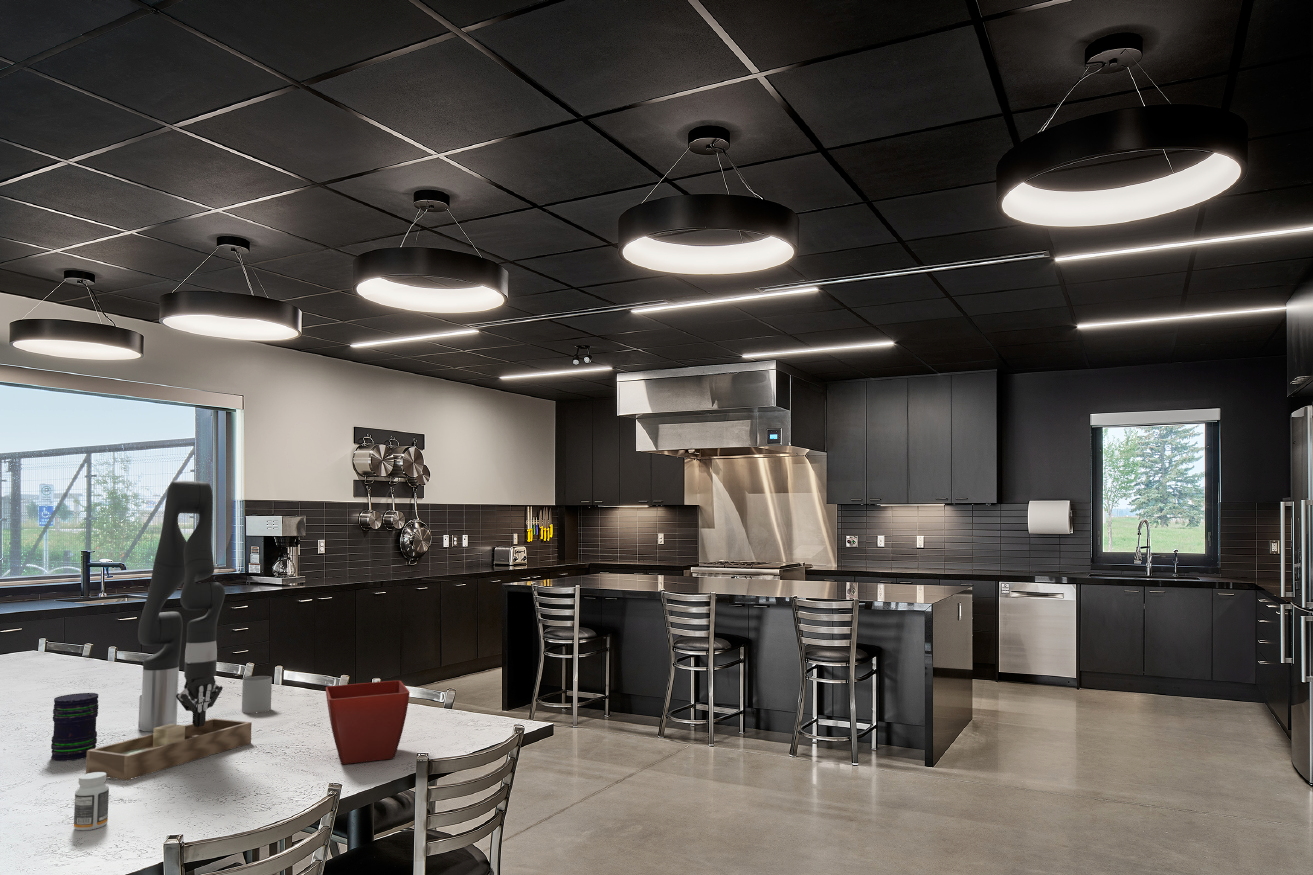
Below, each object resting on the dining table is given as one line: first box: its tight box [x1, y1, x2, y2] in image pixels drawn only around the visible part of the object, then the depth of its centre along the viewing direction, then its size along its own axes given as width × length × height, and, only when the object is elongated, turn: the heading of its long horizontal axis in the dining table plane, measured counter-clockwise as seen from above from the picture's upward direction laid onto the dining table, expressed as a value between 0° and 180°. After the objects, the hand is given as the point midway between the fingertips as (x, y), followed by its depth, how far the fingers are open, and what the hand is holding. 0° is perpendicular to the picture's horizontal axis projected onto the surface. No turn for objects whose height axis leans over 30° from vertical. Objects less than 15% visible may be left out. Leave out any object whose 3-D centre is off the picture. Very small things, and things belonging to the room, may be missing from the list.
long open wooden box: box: [85, 717, 252, 781], centre depth 225 cm, size 36×14×6 cm, turn 158°
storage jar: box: [50, 692, 99, 762], centre depth 228 cm, size 10×10×15 cm
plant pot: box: [325, 680, 410, 765], centre depth 226 cm, size 19×19×17 cm
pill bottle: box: [73, 772, 110, 831], centre depth 175 cm, size 6×6×10 cm
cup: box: [241, 675, 273, 714], centre depth 279 cm, size 8×8×10 cm
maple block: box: [152, 724, 185, 748], centre depth 224 cm, size 5×5×5 cm
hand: (198, 725), depth 232 cm, fingers closed
